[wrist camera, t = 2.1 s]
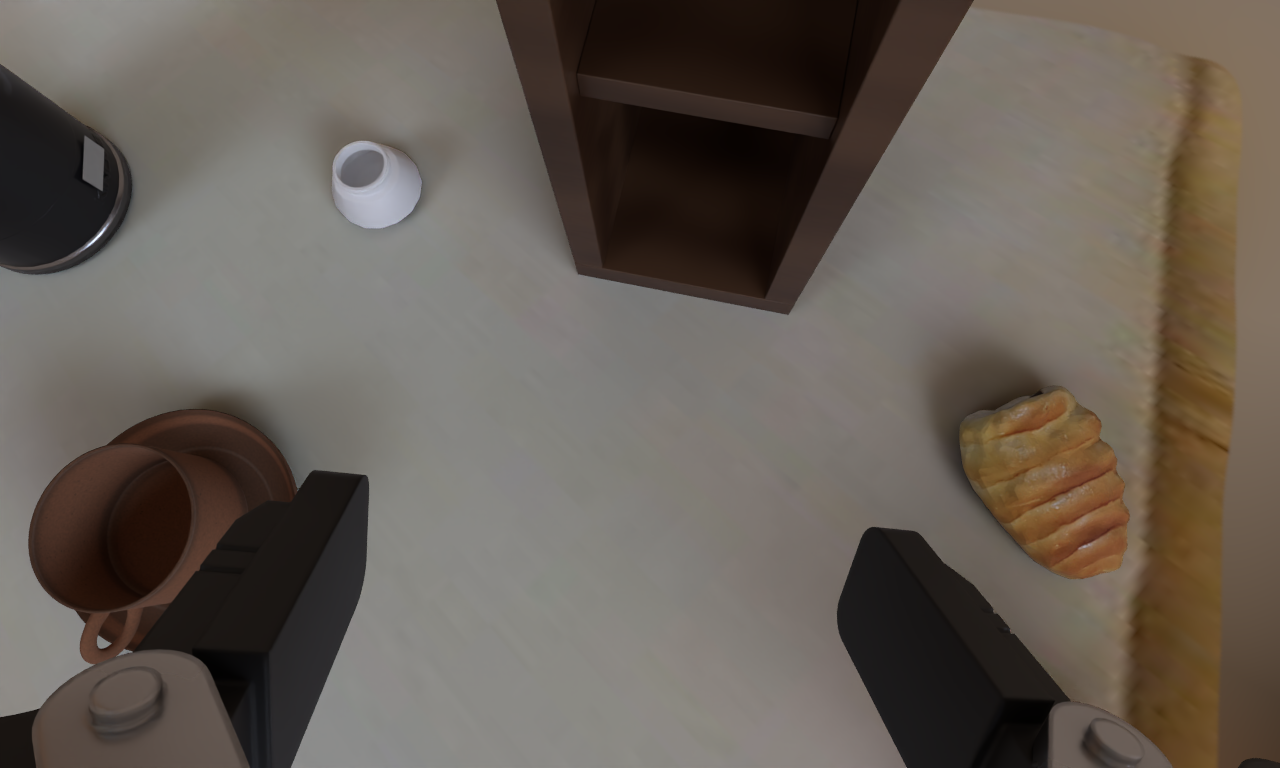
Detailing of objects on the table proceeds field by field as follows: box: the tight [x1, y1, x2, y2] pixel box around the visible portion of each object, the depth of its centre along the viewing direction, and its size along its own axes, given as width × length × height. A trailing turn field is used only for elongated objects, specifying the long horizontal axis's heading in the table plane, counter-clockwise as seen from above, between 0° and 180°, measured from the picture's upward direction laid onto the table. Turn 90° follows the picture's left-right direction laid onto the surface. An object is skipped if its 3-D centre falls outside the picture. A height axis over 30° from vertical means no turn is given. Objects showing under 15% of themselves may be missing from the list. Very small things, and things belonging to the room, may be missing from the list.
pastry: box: [959, 386, 1130, 579], centre depth 33 cm, size 9×7×4 cm
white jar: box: [332, 141, 422, 228], centre depth 38 cm, size 5×3×5 cm
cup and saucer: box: [28, 409, 297, 664], centre depth 33 cm, size 12×12×6 cm
